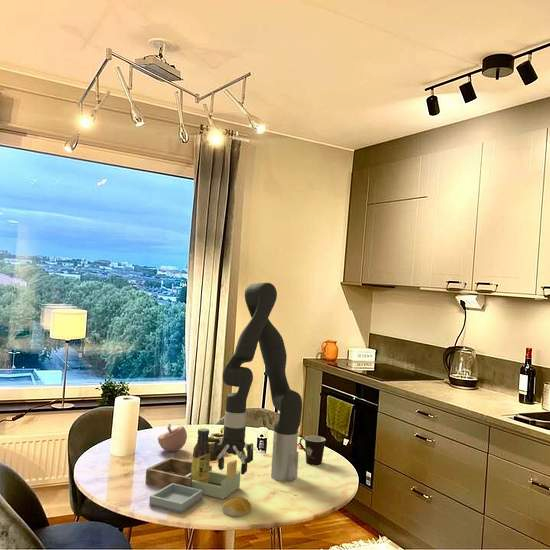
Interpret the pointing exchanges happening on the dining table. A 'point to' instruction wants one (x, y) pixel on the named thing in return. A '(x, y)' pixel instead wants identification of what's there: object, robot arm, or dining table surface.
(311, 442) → the coffee mug
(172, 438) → the pinkish brown apple
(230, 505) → the bread roll
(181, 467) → the walnut bay
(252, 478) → the dining table surface
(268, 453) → the dining table surface
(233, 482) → the caddy
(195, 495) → the tray
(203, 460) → the sauce bottle
